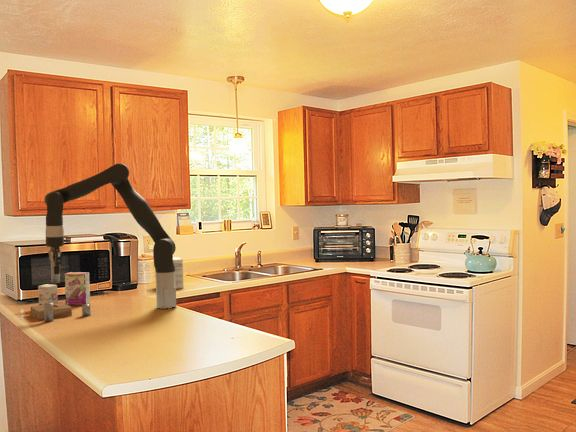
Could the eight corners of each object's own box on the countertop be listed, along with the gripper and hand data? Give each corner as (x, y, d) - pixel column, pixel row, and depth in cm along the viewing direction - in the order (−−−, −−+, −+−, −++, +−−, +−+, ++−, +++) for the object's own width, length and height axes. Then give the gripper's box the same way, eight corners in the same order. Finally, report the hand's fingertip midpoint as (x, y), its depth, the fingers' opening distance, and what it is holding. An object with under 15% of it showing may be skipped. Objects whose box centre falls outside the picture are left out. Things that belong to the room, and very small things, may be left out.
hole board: (72, 315, 233) (71, 306, 233) (38, 320, 225) (38, 311, 224) (62, 310, 246) (62, 302, 246) (30, 315, 237) (30, 306, 237)
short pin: (91, 315, 232) (91, 304, 232) (83, 316, 230) (83, 305, 230) (89, 314, 235) (88, 303, 235) (81, 315, 233) (80, 304, 233)
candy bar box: (65, 305, 258) (63, 273, 258) (70, 303, 263) (69, 272, 262) (86, 305, 257) (84, 273, 256) (90, 303, 262) (89, 271, 261)
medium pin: (54, 321, 222) (53, 303, 222) (45, 322, 220) (44, 304, 220) (52, 320, 225) (52, 302, 225) (43, 321, 223) (43, 302, 223)
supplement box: (157, 287, 311) (156, 258, 310) (179, 285, 316) (178, 257, 316) (161, 290, 299) (160, 260, 298) (184, 288, 304) (183, 258, 304)
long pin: (61, 282, 231) (60, 256, 230) (52, 283, 228) (52, 257, 228) (58, 281, 234) (58, 255, 233) (50, 282, 231) (49, 256, 231)
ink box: (38, 309, 251) (37, 285, 251) (47, 307, 255) (46, 283, 255) (49, 310, 247) (48, 286, 247) (58, 308, 251) (57, 284, 251)
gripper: (67, 236, 227) (68, 274, 228) (59, 234, 238) (60, 271, 239) (49, 236, 223) (50, 276, 223) (41, 235, 234) (42, 273, 234)
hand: (55, 273), depth 231 cm, fingers closed on long pin, 3 cm apart
